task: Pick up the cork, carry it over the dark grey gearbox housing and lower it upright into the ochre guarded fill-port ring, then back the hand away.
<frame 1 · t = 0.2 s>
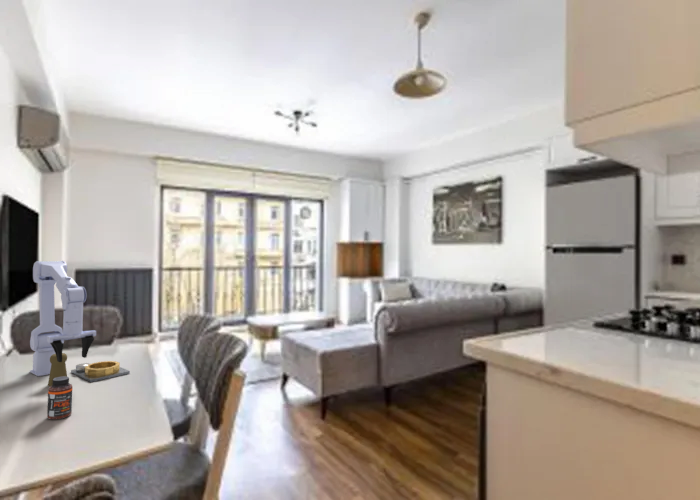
hand: (72, 359, 144), 10 cm above the table, tool pointing down, fingers open, 7 cm apart
cork: (57, 384, 147), on the table
supplement bottle: (59, 416, 120), on the table
gearbox: (100, 373, 160), on the table
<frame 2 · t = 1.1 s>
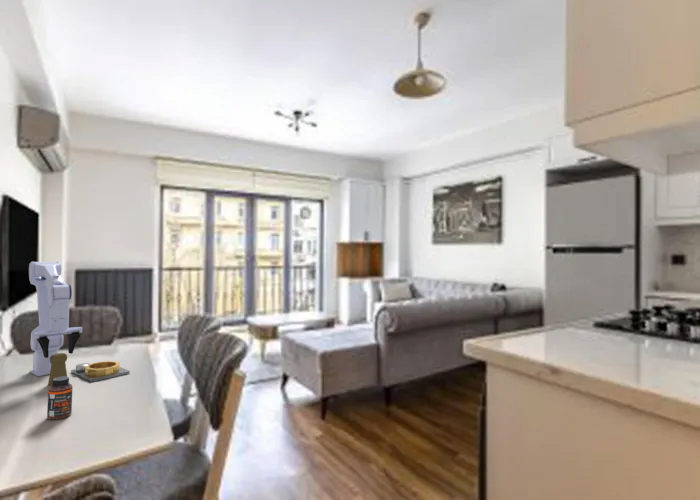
hand: (58, 355, 147), 10 cm above the table, tool pointing down, fingers open, 7 cm apart
nothing on the table moved.
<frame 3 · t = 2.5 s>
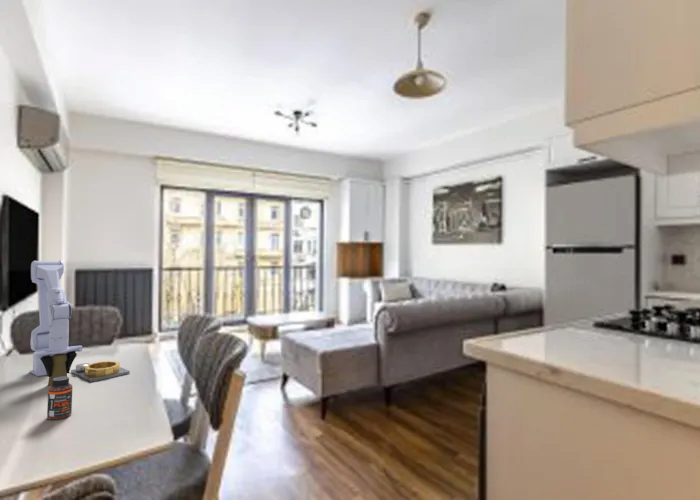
hand: (58, 374, 147), 3 cm above the table, tool pointing down, fingers closed on cork, 5 cm apart
cork: (57, 384, 147), on the table, touching gripper
everything else where it was.
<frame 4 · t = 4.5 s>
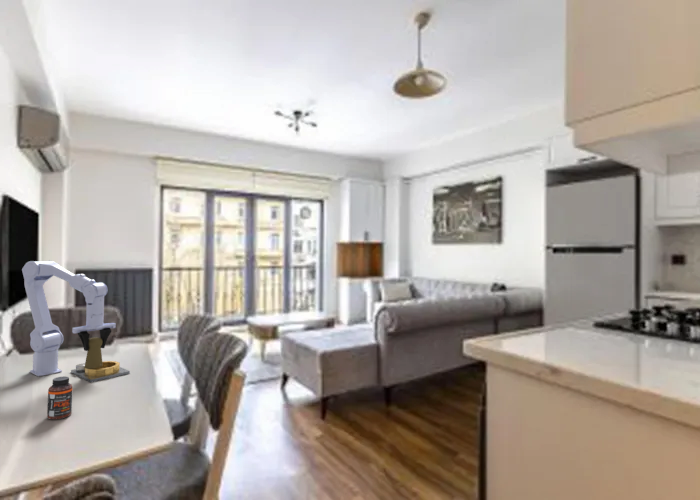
hand: (94, 349, 156), 10 cm above the table, tool pointing down, fingers closed on cork, 5 cm apart
cork: (93, 367, 156), point 4 cm above the table, touching gripper
everything else where it was.
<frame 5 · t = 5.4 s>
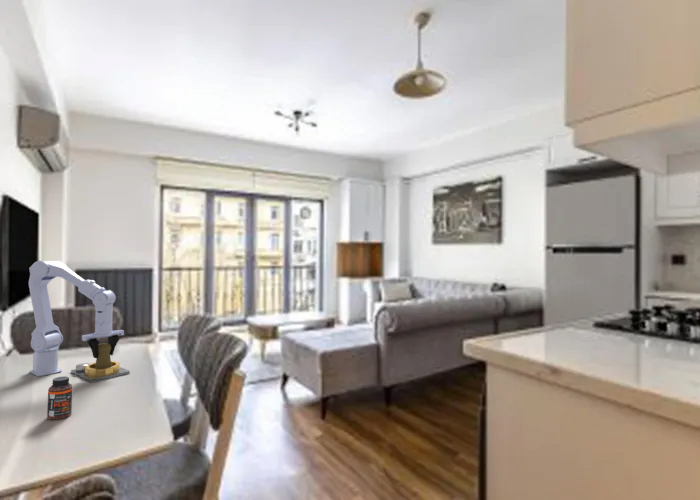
hand: (103, 356, 159), 7 cm above the table, tool pointing down, fingers closed on cork, 5 cm apart
cork: (103, 372, 159), point 1 cm above the table, touching gearbox, gripper
everything else where it was.
when the fingers open (6 cm above the table, at t = 6.1 s): cork stays where it is, resting on gearbox.
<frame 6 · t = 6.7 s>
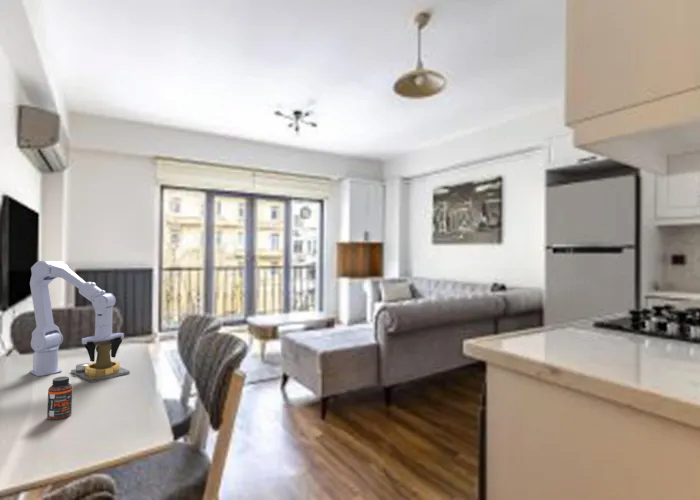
hand: (103, 359, 159), 6 cm above the table, tool pointing down, fingers open, 7 cm apart
cork: (103, 372, 159), point 1 cm above the table, touching gearbox
everything else where it was.
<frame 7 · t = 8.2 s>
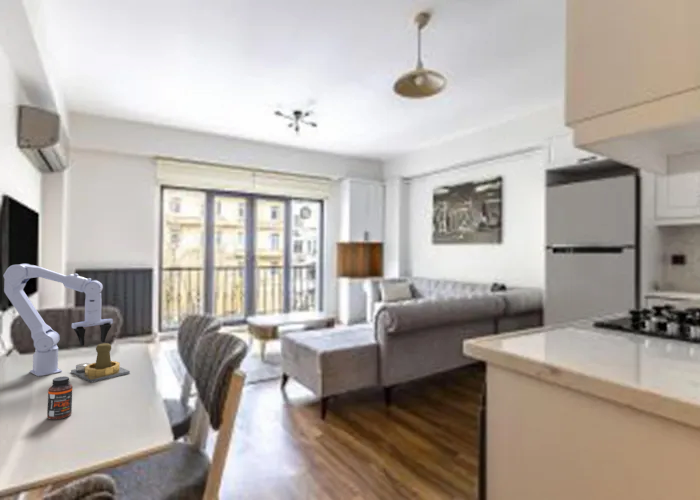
hand: (92, 343, 165), 10 cm above the table, tool pointing down, fingers open, 7 cm apart
nothing on the table moved.
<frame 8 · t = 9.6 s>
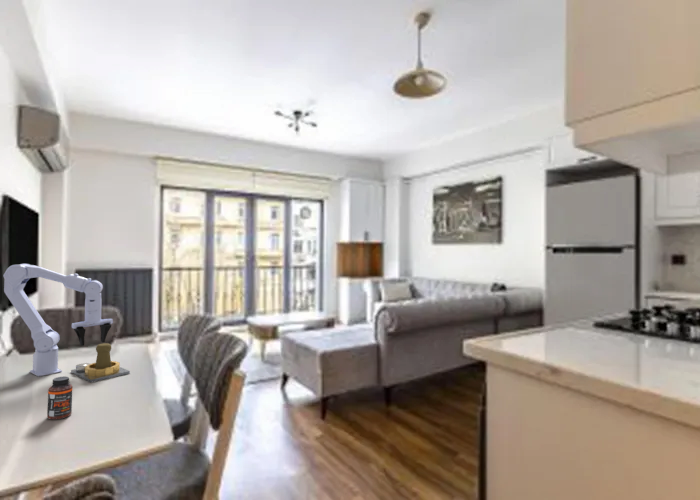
hand: (92, 343, 165), 10 cm above the table, tool pointing down, fingers open, 7 cm apart
nothing on the table moved.
at the end: cork 0.4 cm from the target spot on the gearbox, point 0.8 cm above the gearbox's base; cork tilted 0°; the gripper is holding nothing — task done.
